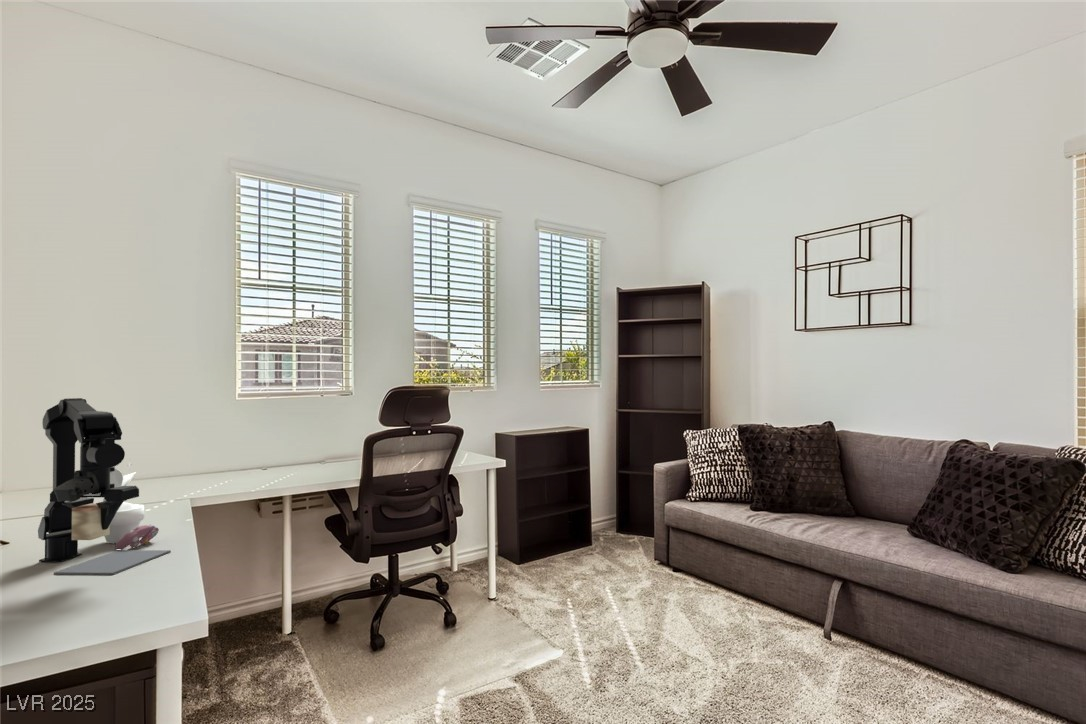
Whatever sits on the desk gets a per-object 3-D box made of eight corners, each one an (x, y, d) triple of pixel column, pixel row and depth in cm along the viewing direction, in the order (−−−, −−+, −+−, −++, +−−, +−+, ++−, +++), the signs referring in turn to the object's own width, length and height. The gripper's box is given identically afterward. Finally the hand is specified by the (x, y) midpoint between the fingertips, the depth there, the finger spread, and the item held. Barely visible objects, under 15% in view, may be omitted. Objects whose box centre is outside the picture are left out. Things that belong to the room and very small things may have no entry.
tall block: (71, 539, 129) (71, 507, 129) (91, 534, 134) (91, 503, 134) (90, 540, 129) (91, 508, 129) (109, 534, 134) (110, 503, 134)
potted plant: (124, 546, 158) (125, 459, 159) (85, 547, 158) (85, 460, 159) (156, 534, 170) (156, 454, 172) (119, 535, 171) (120, 455, 172)
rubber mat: (53, 574, 135) (53, 572, 135) (117, 552, 152) (117, 550, 152) (113, 574, 133) (113, 572, 133) (170, 552, 151) (170, 550, 151)
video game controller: (124, 556, 153) (133, 534, 153) (112, 549, 154) (121, 526, 154) (155, 546, 163) (164, 525, 163) (143, 539, 164) (152, 518, 163)
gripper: (26, 470, 126) (25, 538, 125) (100, 469, 124) (99, 539, 123) (72, 463, 137) (72, 526, 136) (141, 462, 135) (140, 526, 134)
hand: (94, 529), depth 132 cm, fingers closed on tall block, 5 cm apart
